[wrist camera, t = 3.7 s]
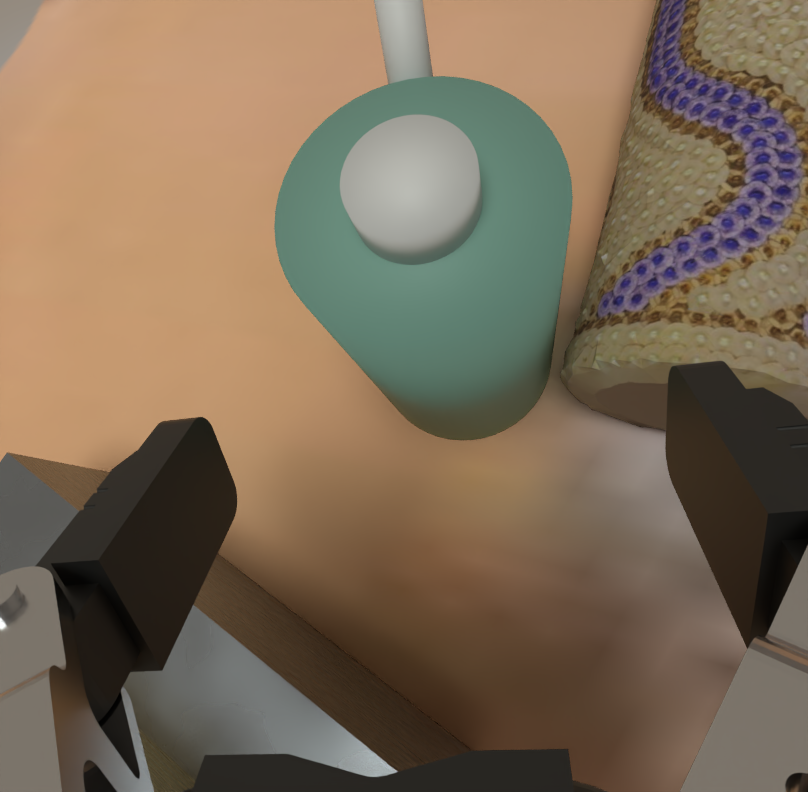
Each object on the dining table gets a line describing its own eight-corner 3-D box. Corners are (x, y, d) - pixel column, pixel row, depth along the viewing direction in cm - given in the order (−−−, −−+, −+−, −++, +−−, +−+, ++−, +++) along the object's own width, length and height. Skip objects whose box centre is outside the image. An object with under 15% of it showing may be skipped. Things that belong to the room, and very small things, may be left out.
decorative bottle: (794, 470, 19) (924, 429, 13) (550, 410, 21) (559, 349, 15) (910, -176, 24) (1048, -440, 17) (702, -176, 26) (758, -414, 19)
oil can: (561, 431, 21) (606, 284, 9) (385, 447, 22) (233, 333, 10) (531, 197, 23) (537, -147, 12) (373, 222, 24) (237, -73, 13)
